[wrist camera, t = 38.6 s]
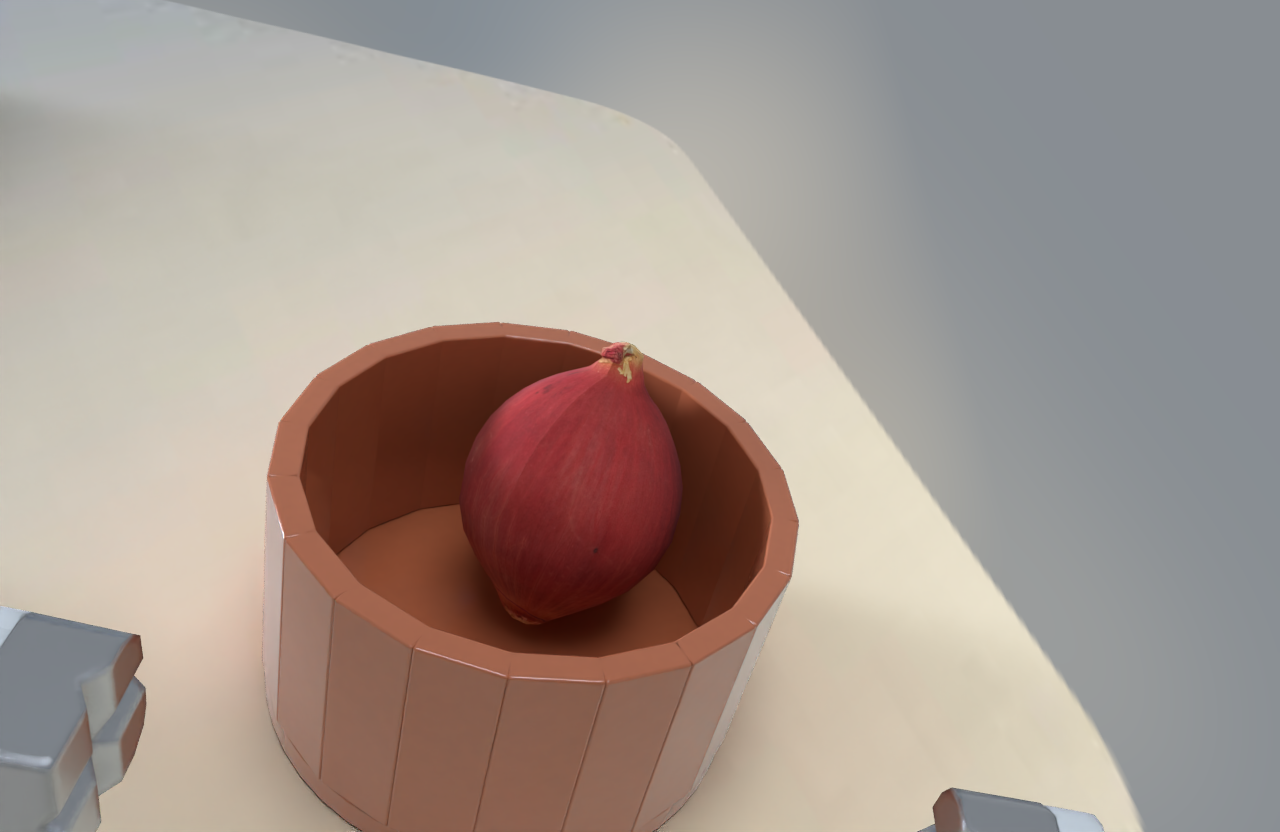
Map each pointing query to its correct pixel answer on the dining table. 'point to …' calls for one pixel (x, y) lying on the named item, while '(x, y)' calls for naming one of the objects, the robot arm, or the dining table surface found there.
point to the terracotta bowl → (500, 603)
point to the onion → (572, 489)
